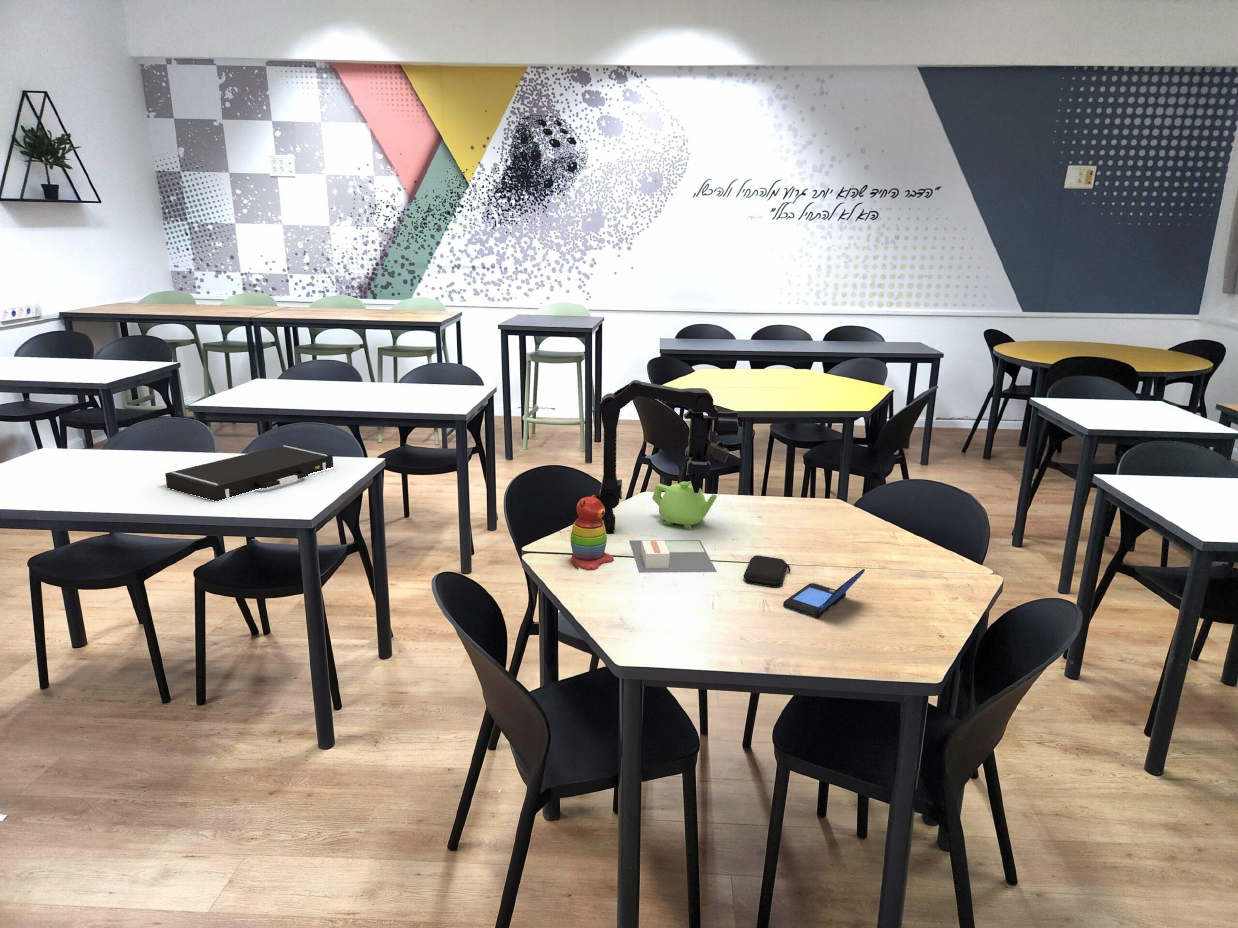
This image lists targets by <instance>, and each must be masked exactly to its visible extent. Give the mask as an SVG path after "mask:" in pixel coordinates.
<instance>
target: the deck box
mask: <svg viewBox="0 0 1238 928" xmlns="http://www.w3.org/2000/svg"><path fill="white" fill-rule="evenodd" d="M669 555H670V553H669V551H668V549H667V546H666V544H665V542H664V541H642V545H641V556H642V559H643V562H644V565H645V568H669Z"/></svg>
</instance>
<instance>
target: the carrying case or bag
mask: <svg viewBox="0 0 1238 928" xmlns="http://www.w3.org/2000/svg"><path fill="white" fill-rule="evenodd" d="M787 570H788V572H789V573H790V572H791V567H790V564H788V563H787V562H786V560H785V559H783V558H779V557H778V558H777V557H772V556H771V557H770V556H766V555H765V556H764V555H760V554H759V555H754V556H752V557H751V558H750V559H749V562H748V564H747V567H746V569H745V571H744V574H743V579H744V580H745V582H747V584H752V585H753V584H754V585H759V586H760V585H761V586H766V587H774V588H778V587H779V586H780V585H782V584H784V579H785V575H786V573H787Z"/></svg>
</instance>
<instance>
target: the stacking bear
mask: <svg viewBox="0 0 1238 928" xmlns="http://www.w3.org/2000/svg"><path fill="white" fill-rule="evenodd" d="M596 496H597V495H596V494H592V495H591V496H585V497H582V498H580V500H579V501H578V502H577V505H576V513H577V516H578V517H577V518H576V520H575V521H574V522H573V523H572V527H571V532H570V537H569V538H570V540H569V541H570V547H571V552H572V555H571V558H570V563H571V565H572V566H573V567H575V568H576V569H577V570H578V569H581V570H584V571H596V570H598V569H599V567H600V566H602V565H604V564H605V565H606V564H610V563H611V564H612V562H615V559H614V556H613V555H611V554H609V553H607V552H605V551H606V547H607V542H608V541H607V539H608V534H606V530H605V525H604V521H603V520H602V517H603V515H604V513H605V508H604V506H603V504H602V503H601V501H600V500H599V499H597V497H596Z"/></svg>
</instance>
